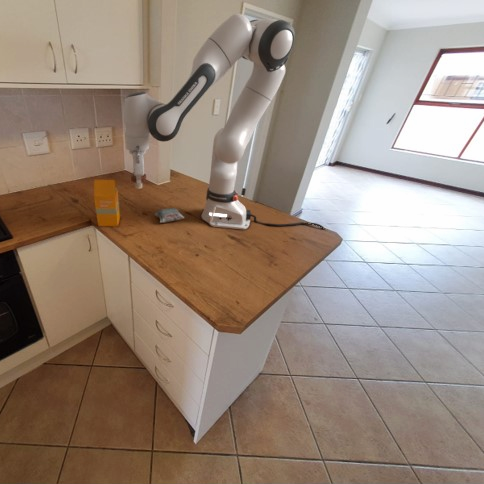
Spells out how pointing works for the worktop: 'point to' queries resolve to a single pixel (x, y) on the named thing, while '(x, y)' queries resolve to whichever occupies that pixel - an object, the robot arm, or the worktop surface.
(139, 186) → the brown stepped knob
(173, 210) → the packaged food
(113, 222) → the orange juice
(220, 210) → the robot arm
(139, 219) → the worktop surface
